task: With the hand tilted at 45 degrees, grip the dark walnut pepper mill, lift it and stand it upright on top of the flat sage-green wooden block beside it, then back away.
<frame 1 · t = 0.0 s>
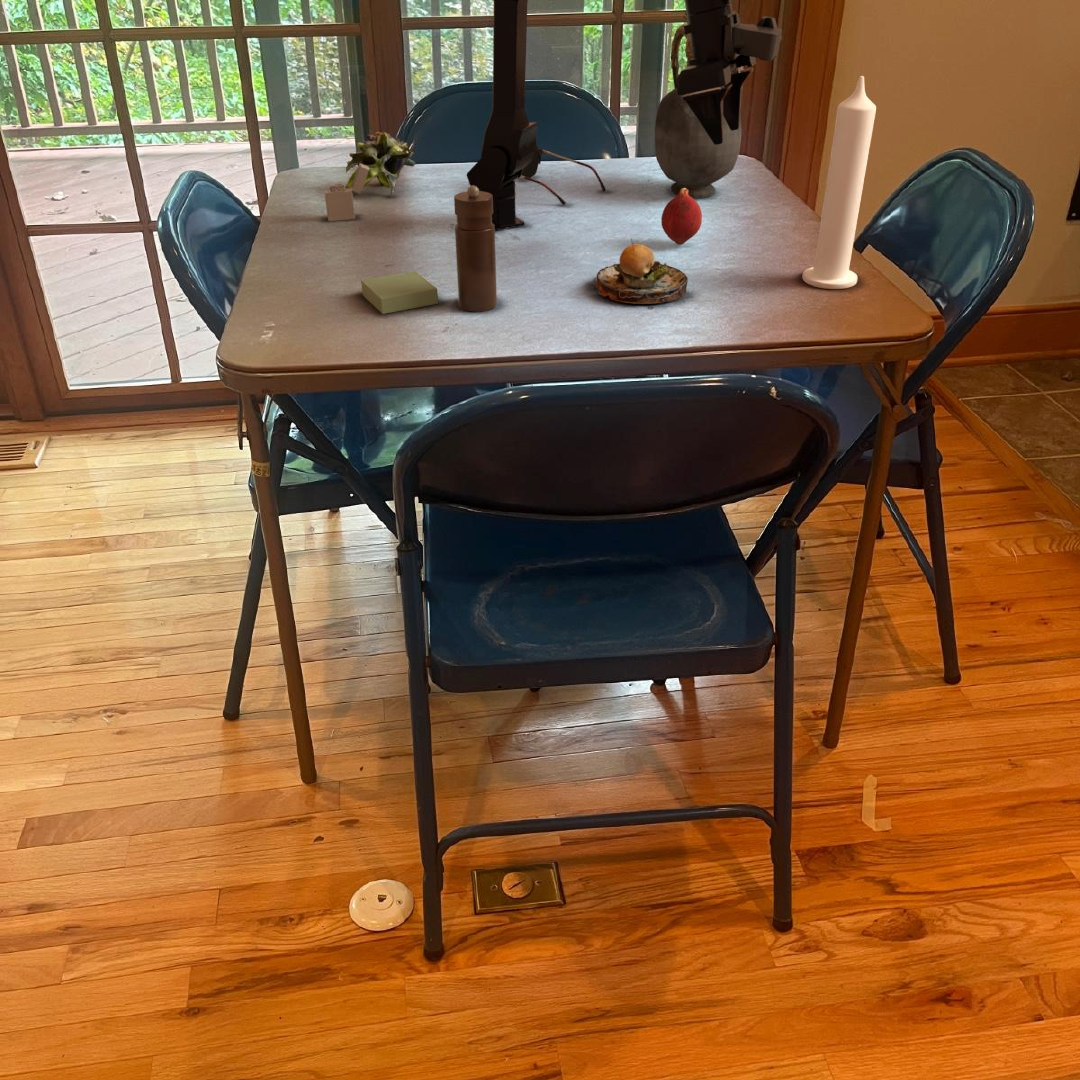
hand: (727, 136, 135), 15 cm above the table, tool pointing down, fingers open, 9 cm apart
pitcher: (688, 191, 171), on the table
candle: (829, 281, 133), on the table
wood slice pumpkin decoration: (640, 291, 131), on the table
lighter: (351, 219, 158), on the table
sunglasses: (549, 191, 171), on the table
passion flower: (384, 192, 171), on the table
pepper mill: (477, 305, 127), on the table
onion: (679, 246, 146), on the table
riser block: (400, 299, 128), on the table
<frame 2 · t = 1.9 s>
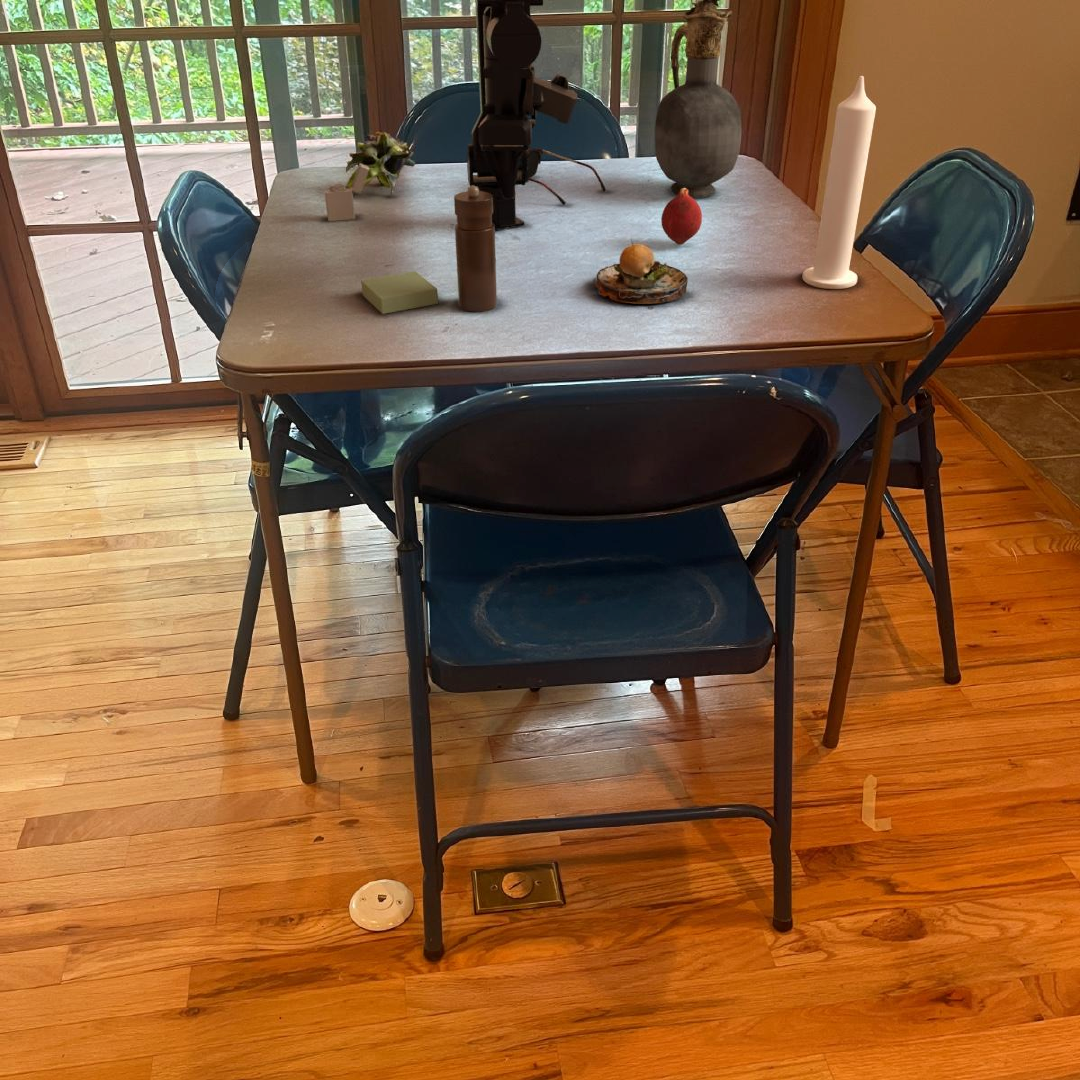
hand: (510, 188, 130), 11 cm above the table, tool pointing down, fingers open, 9 cm apart
nothing on the table moved.
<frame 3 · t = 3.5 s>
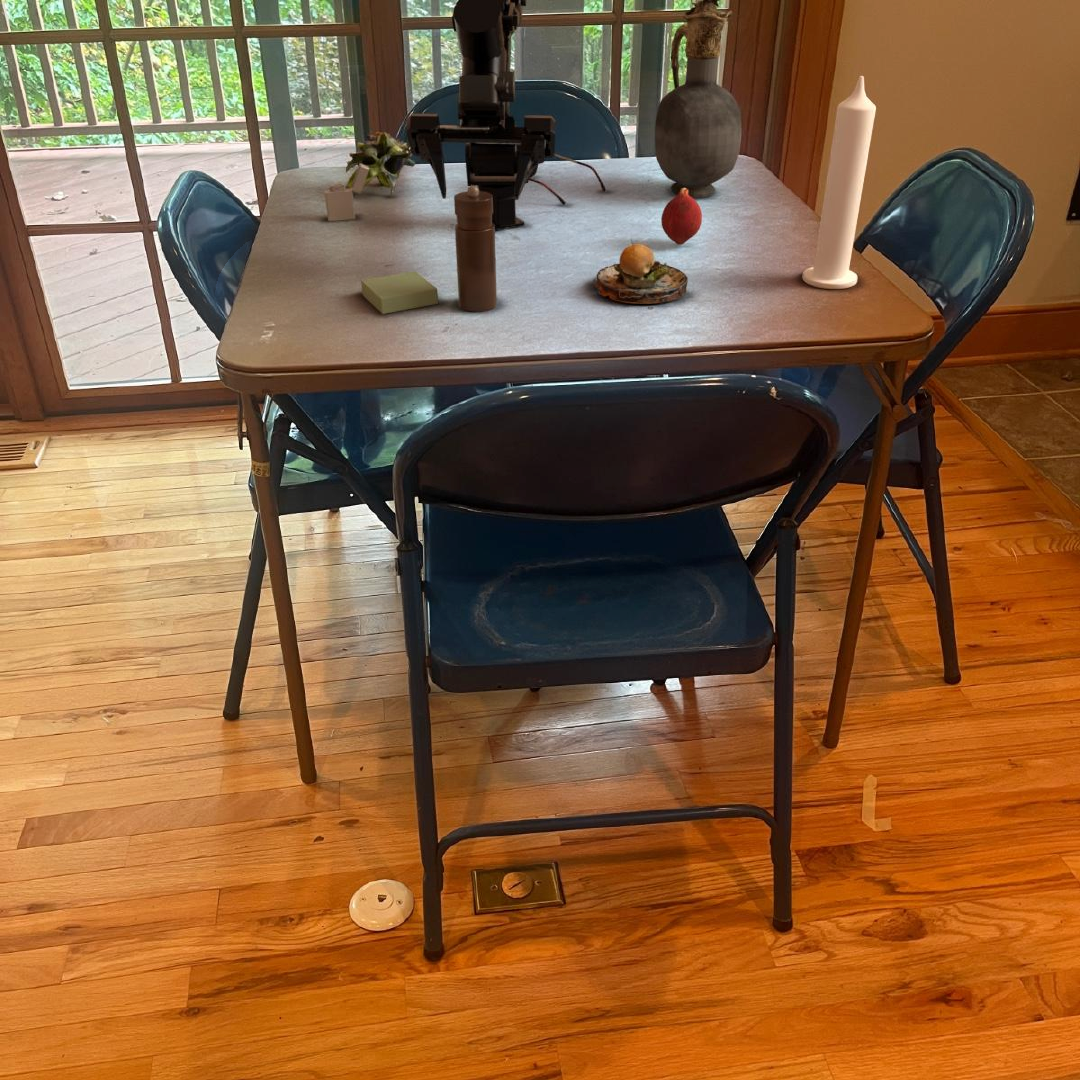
hand: (480, 197, 127), 11 cm above the table, tool tilted 45°, fingers open, 9 cm apart
nothing on the table moved.
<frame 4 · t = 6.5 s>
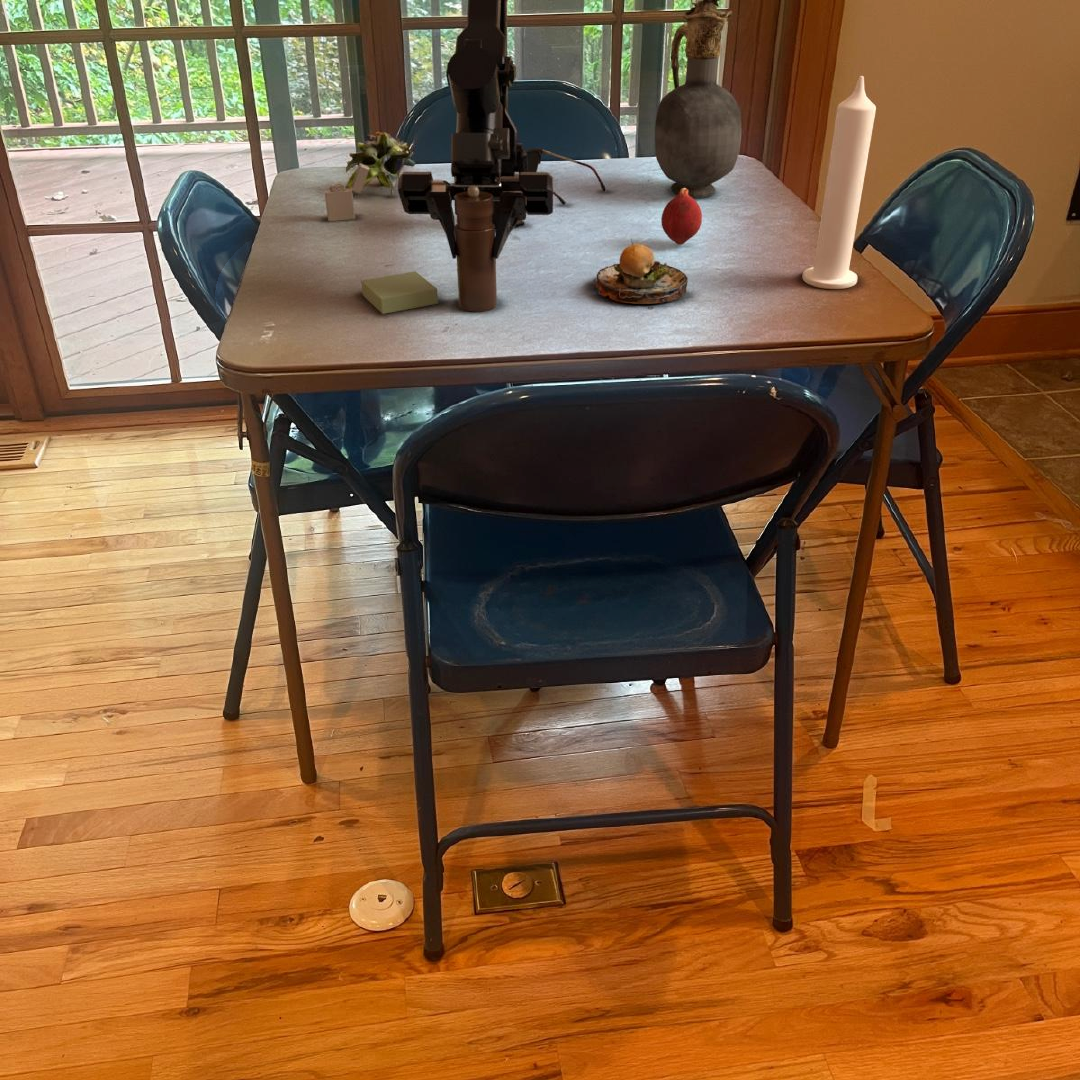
hand: (474, 257, 122), 7 cm above the table, tool tilted 45°, fingers closed on pepper mill, 5 cm apart
pepper mill: (478, 305, 127), on the table, touching gripper
everything else where it was.
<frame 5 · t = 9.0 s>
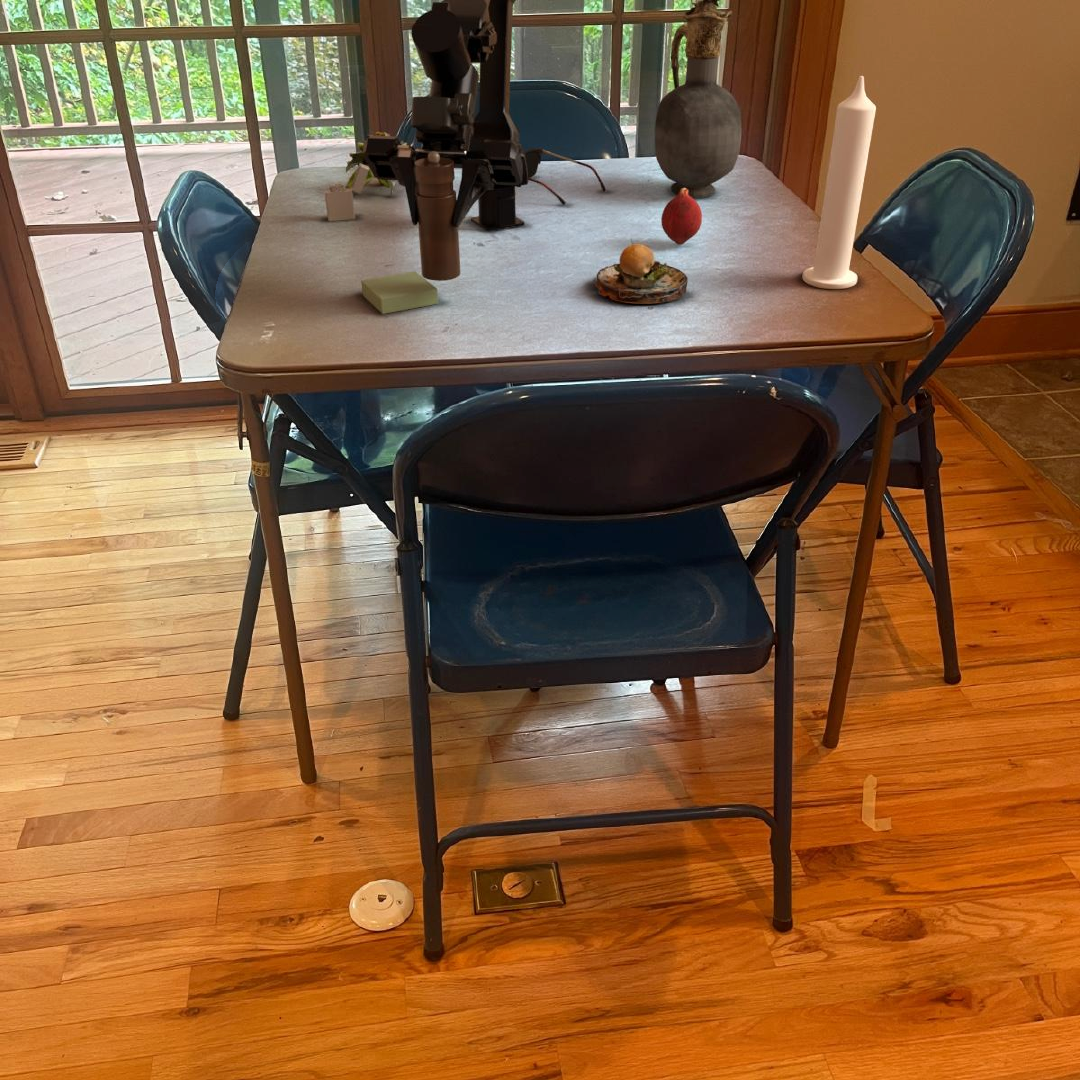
hand: (434, 224, 120), 10 cm above the table, tool tilted 45°, fingers closed on pepper mill, 5 cm apart
pepper mill: (441, 274, 125), point 4 cm above the table, touching gripper
everything else where it was.
when the fingers open (9 cm above the table, at t = 11.4 s): pepper mill stays where it is, resting on riser block.
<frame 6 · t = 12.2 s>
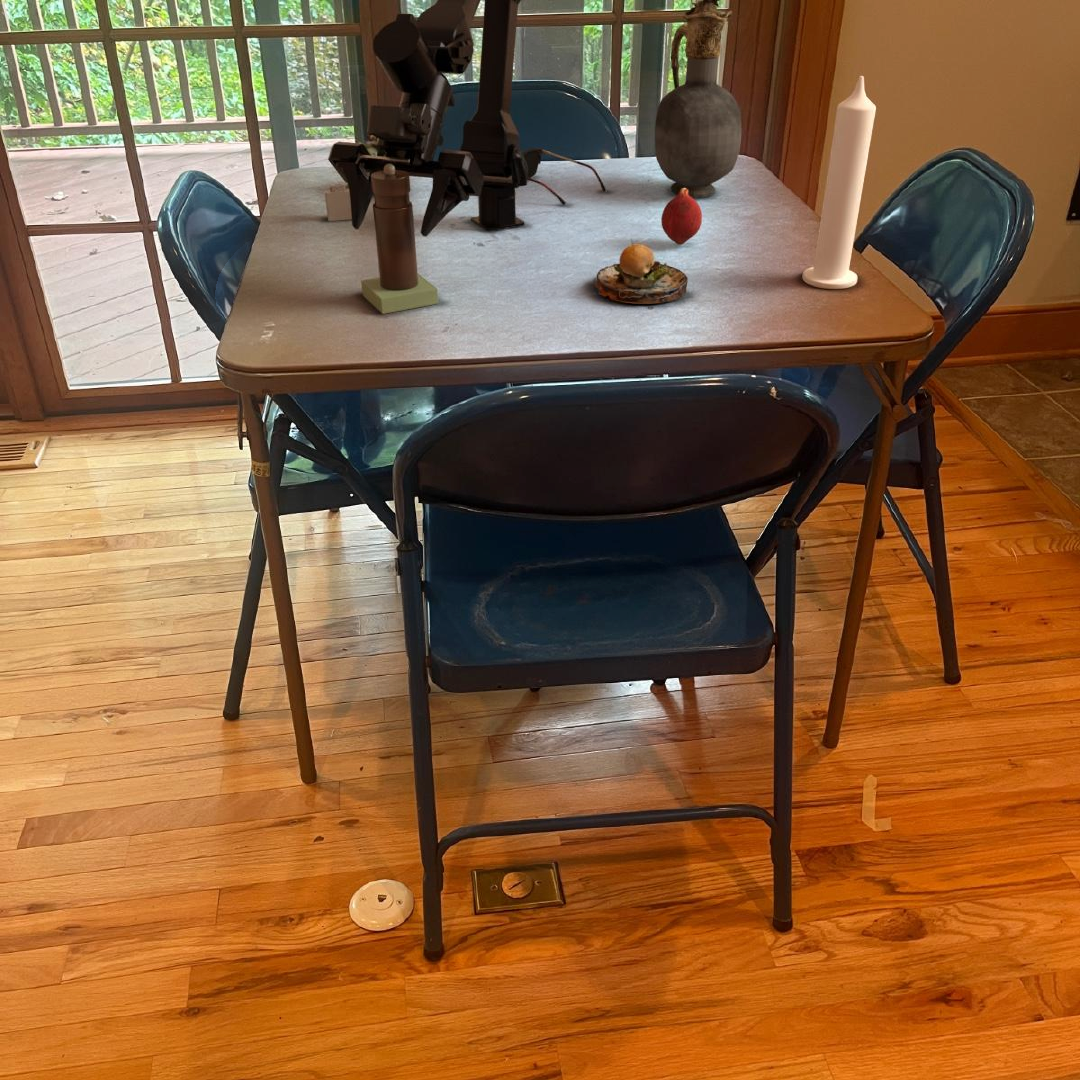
hand: (388, 231, 122), 9 cm above the table, tool tilted 45°, fingers open, 9 cm apart
pepper mill: (399, 284, 127), point 2 cm above the table, touching riser block
riser block: (400, 299, 128), on the table, touching pepper mill
everything else where it was.
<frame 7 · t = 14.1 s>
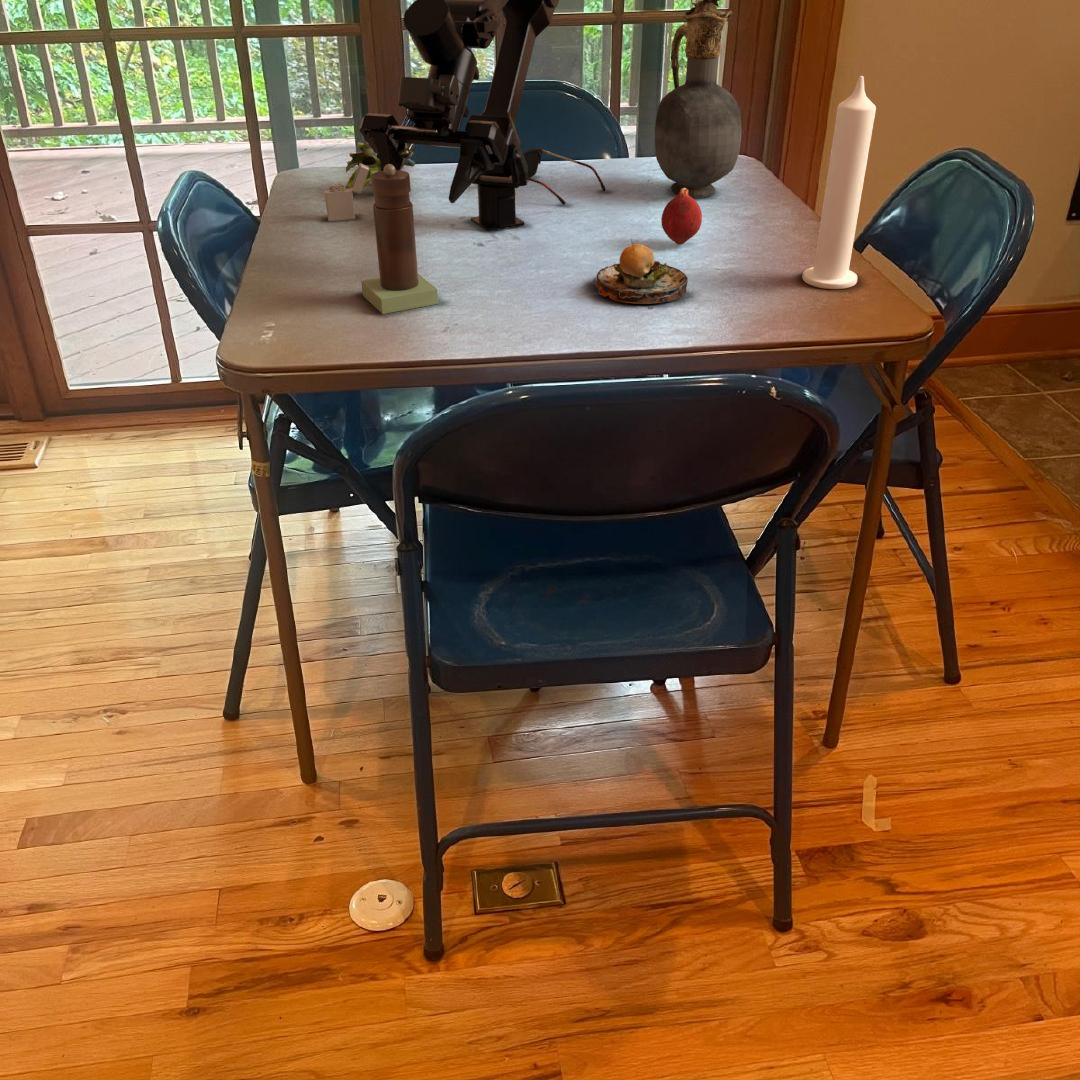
hand: (417, 198, 128), 11 cm above the table, tool tilted 45°, fingers open, 9 cm apart
pepper mill: (399, 284, 127), point 2 cm above the table
riser block: (400, 299, 128), on the table
everything else where it was.
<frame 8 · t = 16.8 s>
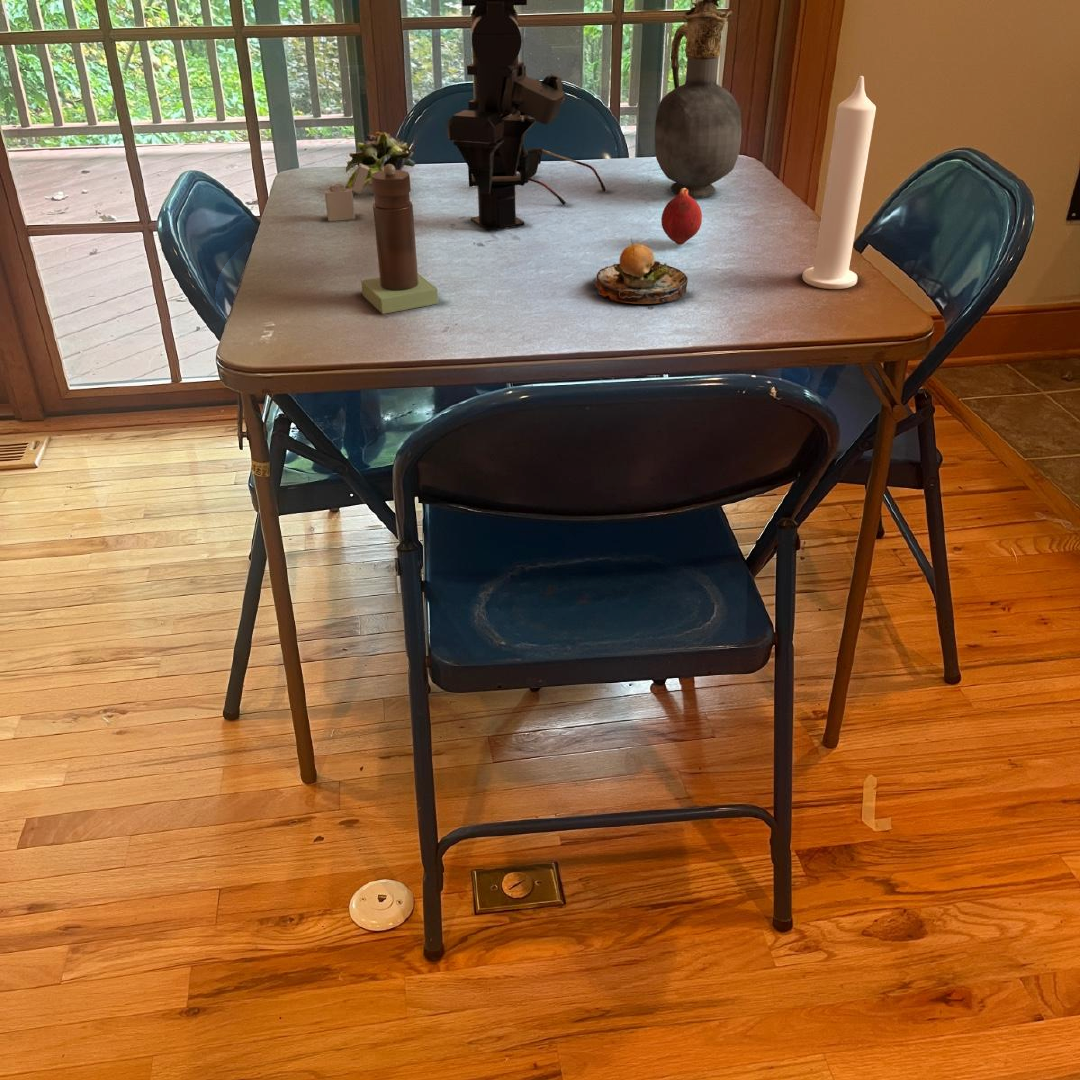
hand: (498, 184, 133), 11 cm above the table, tool pointing down, fingers open, 9 cm apart
pepper mill: (399, 284, 127), point 2 cm above the table, touching riser block
riser block: (400, 299, 128), on the table, touching pepper mill
everything else where it was.
at the end: pepper mill 0.1 cm off-centre on the riser block, point 2.0 cm above the riser block's base; pepper mill tilted 0°; the gripper is holding nothing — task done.
